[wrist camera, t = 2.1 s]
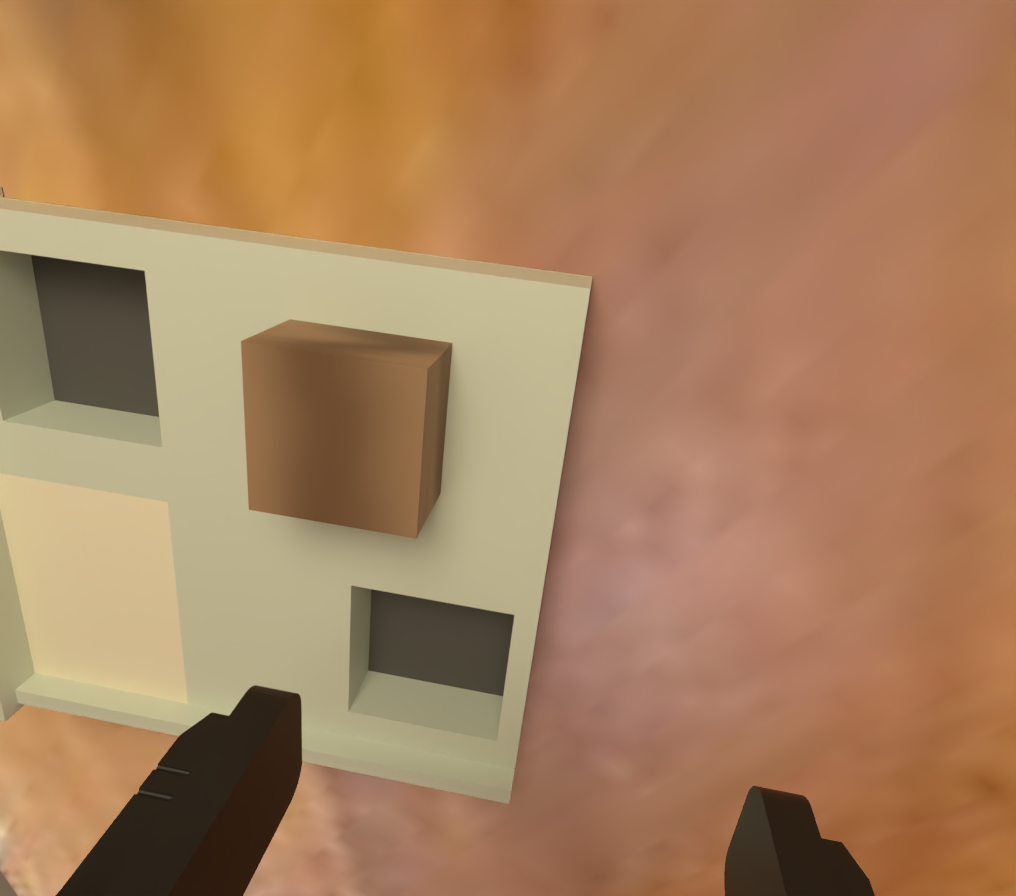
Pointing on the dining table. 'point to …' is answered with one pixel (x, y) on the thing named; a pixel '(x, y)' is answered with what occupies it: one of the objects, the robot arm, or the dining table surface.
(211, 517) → the box
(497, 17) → the dining table surface
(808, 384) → the dining table surface
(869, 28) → the dining table surface
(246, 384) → the block
